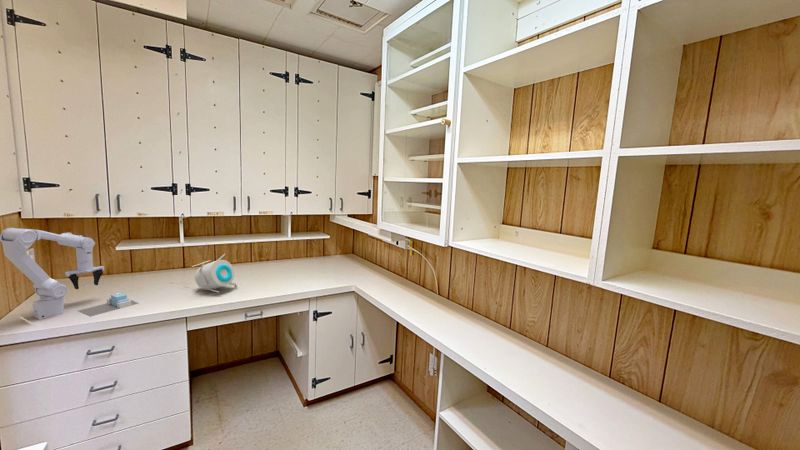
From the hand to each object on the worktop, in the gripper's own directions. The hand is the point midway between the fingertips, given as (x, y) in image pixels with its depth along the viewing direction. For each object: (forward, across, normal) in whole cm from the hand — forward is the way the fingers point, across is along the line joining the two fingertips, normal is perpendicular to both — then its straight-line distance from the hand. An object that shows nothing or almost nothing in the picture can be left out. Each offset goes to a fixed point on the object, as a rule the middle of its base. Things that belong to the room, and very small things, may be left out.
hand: (86, 286), depth 165 cm
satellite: (+10, +48, -30) cm, 57 cm away
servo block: (+8, +7, -14) cm, 18 cm away
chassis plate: (+9, +3, -14) cm, 17 cm away
